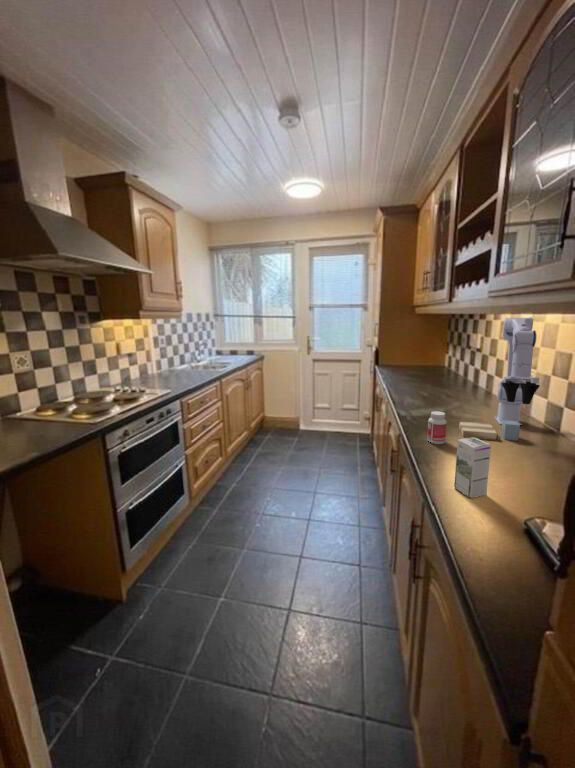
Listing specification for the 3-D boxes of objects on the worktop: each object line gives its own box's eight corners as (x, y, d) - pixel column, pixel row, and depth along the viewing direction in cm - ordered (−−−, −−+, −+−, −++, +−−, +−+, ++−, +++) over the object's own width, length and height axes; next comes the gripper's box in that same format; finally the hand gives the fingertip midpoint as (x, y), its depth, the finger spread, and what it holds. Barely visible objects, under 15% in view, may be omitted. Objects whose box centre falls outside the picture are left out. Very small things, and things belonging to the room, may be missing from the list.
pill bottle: (448, 442, 124) (451, 413, 121) (438, 446, 120) (440, 416, 118) (433, 437, 129) (435, 409, 126) (423, 441, 126) (425, 412, 123)
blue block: (501, 435, 129) (502, 420, 128) (514, 436, 127) (516, 421, 126) (504, 439, 125) (505, 424, 124) (518, 440, 123) (520, 425, 122)
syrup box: (487, 495, 89) (493, 443, 86) (469, 499, 87) (474, 446, 84) (470, 485, 94) (474, 436, 91) (452, 488, 92) (456, 438, 89)
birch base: (459, 427, 138) (459, 421, 138) (489, 429, 135) (490, 423, 134) (463, 436, 128) (463, 430, 128) (496, 439, 125) (497, 433, 124)
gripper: (497, 364, 126) (494, 400, 127) (525, 363, 112) (522, 404, 112) (515, 365, 126) (512, 401, 127) (546, 365, 112) (542, 405, 112)
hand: (518, 403), depth 120 cm, fingers open, 7 cm apart
